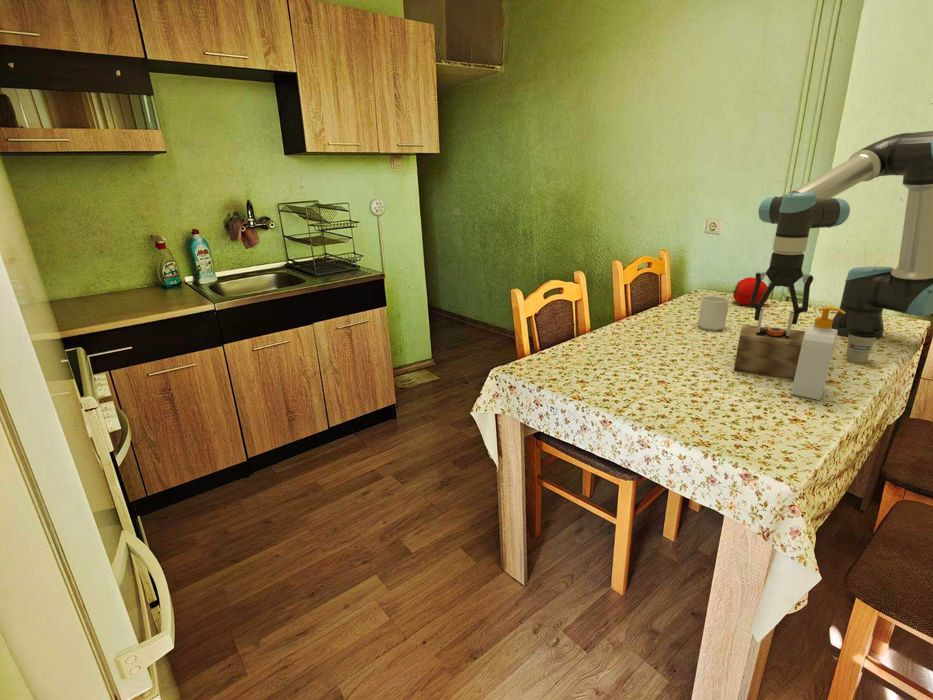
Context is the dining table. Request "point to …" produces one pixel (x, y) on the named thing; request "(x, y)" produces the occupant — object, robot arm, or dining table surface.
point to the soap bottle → (815, 357)
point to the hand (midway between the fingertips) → (772, 332)
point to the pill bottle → (775, 333)
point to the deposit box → (768, 352)
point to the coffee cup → (860, 344)
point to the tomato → (748, 291)
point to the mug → (713, 313)
